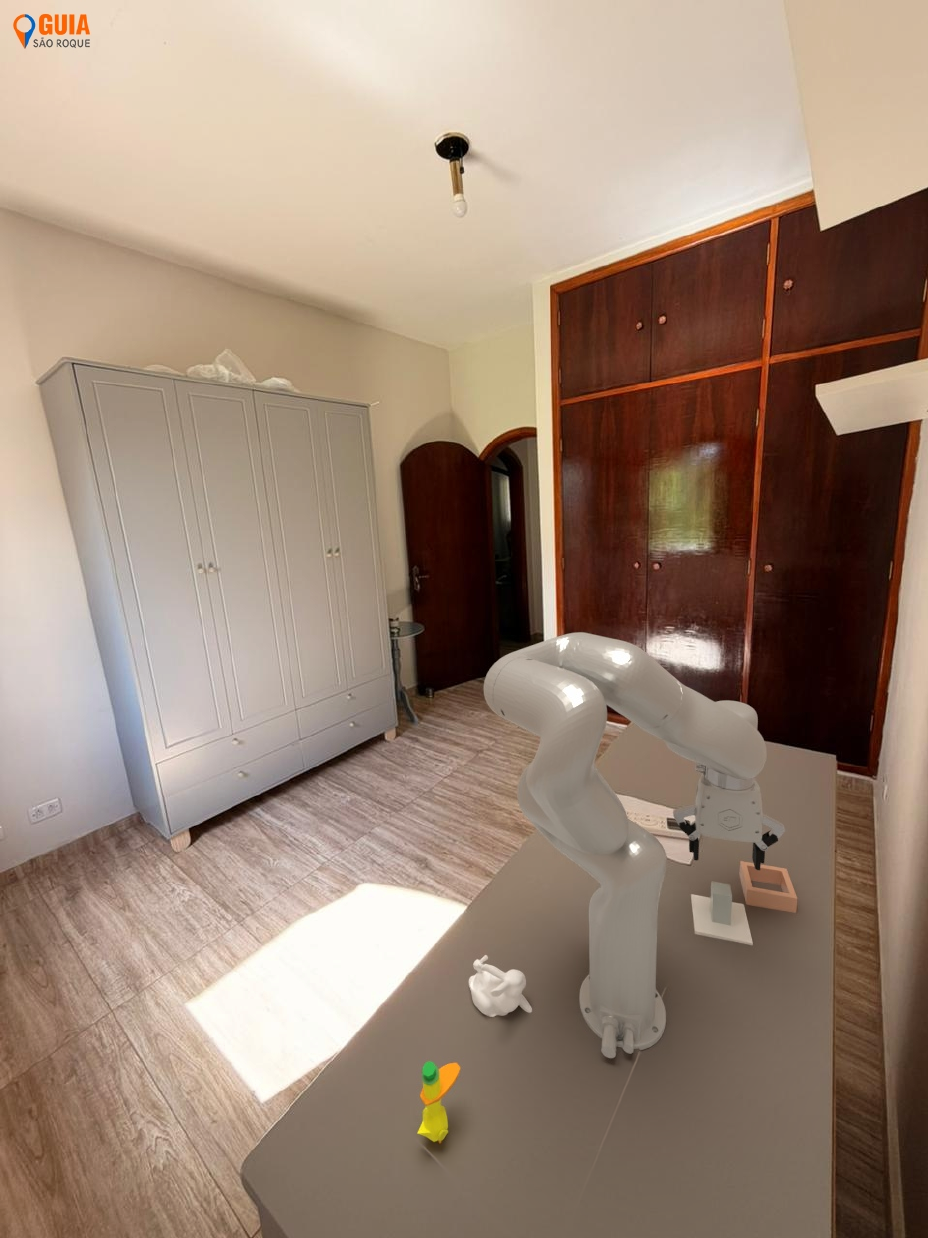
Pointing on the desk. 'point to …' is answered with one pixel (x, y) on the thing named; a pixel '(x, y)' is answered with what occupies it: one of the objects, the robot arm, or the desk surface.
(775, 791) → the desk surface
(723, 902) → the lid
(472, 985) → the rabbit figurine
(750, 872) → the square frame
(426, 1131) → the toy figure
